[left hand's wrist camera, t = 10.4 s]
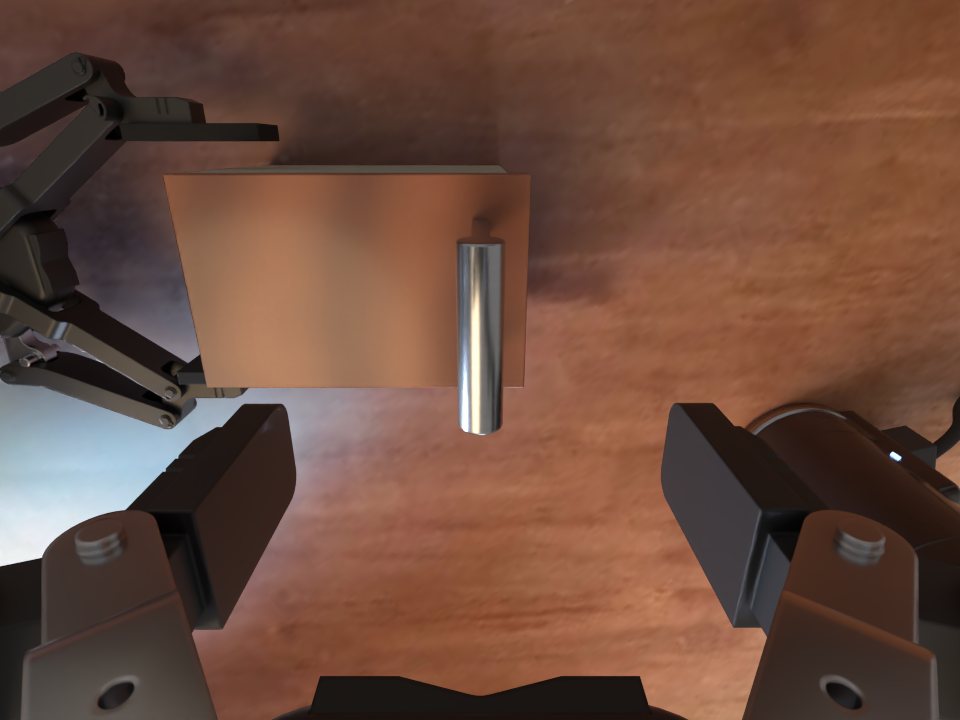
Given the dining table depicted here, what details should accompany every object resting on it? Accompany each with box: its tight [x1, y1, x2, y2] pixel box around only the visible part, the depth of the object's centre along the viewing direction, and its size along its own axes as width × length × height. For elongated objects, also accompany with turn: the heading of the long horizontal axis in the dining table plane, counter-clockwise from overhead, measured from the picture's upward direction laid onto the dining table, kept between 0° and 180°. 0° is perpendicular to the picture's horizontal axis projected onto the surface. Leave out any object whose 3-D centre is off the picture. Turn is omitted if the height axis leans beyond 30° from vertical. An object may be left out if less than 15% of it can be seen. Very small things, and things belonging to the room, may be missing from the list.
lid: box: [163, 173, 531, 435], centre depth 21 cm, size 15×10×8 cm, turn 90°
